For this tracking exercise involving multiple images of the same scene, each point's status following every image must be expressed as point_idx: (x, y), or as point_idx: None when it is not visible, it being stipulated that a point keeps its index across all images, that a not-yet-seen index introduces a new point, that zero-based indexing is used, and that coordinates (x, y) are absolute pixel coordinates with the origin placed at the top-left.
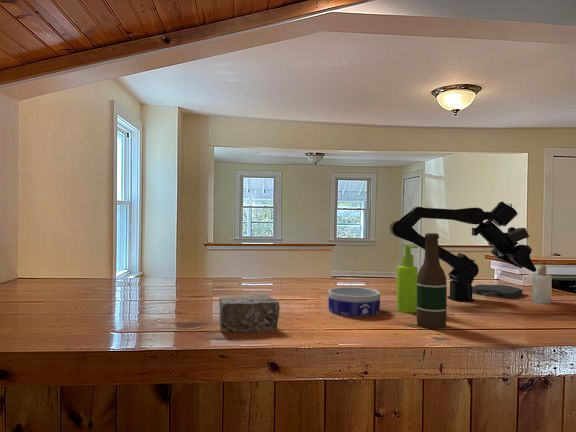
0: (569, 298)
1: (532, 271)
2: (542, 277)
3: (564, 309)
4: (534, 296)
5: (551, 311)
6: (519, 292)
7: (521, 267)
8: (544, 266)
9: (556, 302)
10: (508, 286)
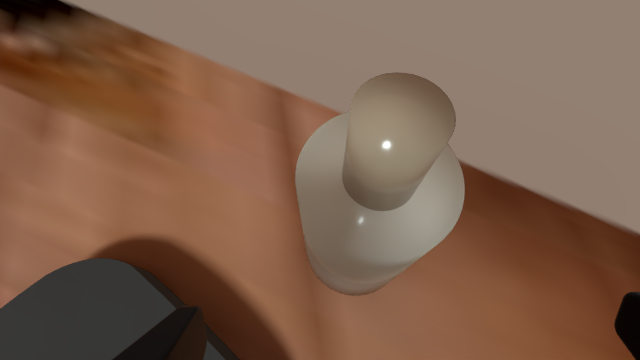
0: (236, 77)
1: (636, 354)
2: (456, 209)
3: (527, 215)
4: (374, 289)
5: None
6: None
7: (204, 342)
8: (449, 112)
9: None
10: (15, 338)
